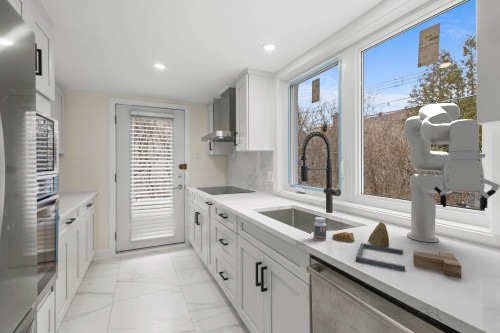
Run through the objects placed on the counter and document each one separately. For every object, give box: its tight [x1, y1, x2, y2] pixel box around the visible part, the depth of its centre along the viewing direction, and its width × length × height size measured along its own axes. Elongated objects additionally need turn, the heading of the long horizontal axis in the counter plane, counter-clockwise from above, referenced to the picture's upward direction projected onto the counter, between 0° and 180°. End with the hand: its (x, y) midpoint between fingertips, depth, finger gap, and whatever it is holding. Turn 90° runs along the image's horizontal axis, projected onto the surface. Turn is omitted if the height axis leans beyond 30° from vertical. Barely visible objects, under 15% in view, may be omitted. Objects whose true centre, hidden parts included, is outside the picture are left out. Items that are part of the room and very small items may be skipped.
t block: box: [412, 250, 463, 279], centre depth 84 cm, size 12×12×4 cm
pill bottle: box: [313, 216, 327, 242], centre depth 114 cm, size 6×6×10 cm
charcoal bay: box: [355, 242, 406, 272], centre depth 93 cm, size 18×15×2 cm
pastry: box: [332, 231, 355, 243], centre depth 114 cm, size 9×7×4 cm
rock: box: [367, 221, 390, 248], centre depth 106 cm, size 11×9×10 cm
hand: (462, 208), depth 81 cm, fingers open, 9 cm apart
